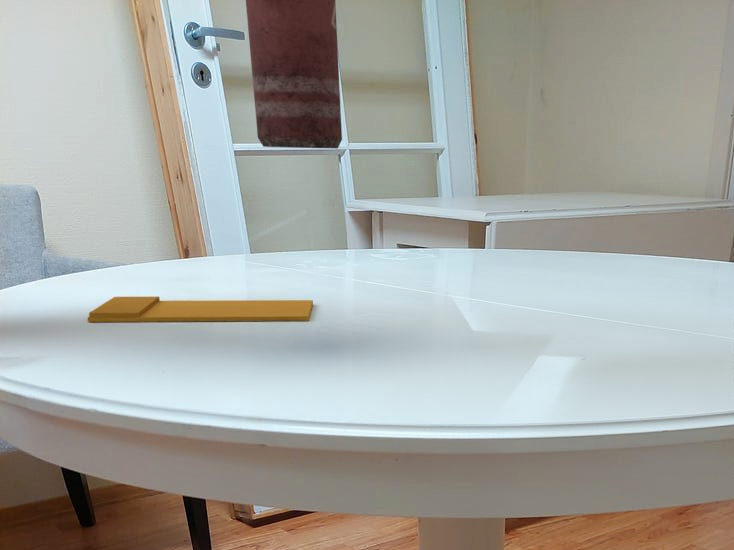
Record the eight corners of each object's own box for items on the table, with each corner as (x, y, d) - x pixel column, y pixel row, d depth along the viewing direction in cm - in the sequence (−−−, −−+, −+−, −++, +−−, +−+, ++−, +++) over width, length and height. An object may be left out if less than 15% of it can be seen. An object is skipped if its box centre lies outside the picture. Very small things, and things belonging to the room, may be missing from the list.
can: (276, 146, 69) (257, -83, 62) (353, 148, 68) (343, -85, 61) (241, 146, 64) (216, -104, 57) (324, 148, 62) (310, -107, 56)
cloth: (87, 322, 81) (86, 312, 81) (113, 304, 90) (112, 296, 90) (308, 320, 84) (307, 311, 83) (313, 304, 92) (312, 296, 92)
